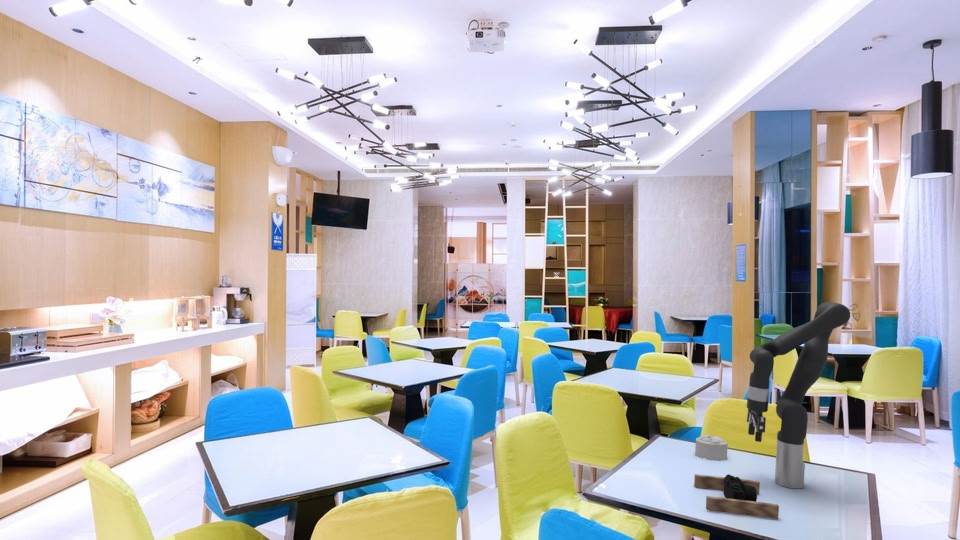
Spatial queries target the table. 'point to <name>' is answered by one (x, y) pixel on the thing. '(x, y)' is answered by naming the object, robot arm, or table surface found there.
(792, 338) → the robot arm
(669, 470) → the table surface
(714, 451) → the lumpy-topped squat cylinder
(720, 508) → the walnut chute
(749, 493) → the film camera
